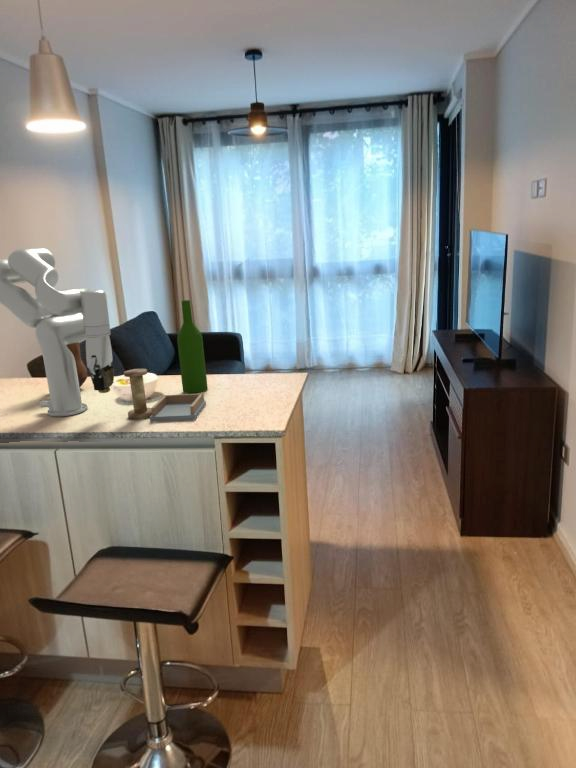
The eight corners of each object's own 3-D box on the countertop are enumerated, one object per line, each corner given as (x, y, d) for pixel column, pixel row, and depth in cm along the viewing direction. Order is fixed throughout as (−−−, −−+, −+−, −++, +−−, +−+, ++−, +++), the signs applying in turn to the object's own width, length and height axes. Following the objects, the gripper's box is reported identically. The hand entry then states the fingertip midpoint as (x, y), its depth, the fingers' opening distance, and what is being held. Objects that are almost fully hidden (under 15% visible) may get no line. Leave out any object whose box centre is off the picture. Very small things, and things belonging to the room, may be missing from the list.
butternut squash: (62, 387, 236) (51, 324, 230) (94, 385, 235) (85, 322, 229) (46, 396, 222) (34, 330, 216) (80, 394, 221) (70, 328, 215)
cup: (116, 394, 184) (113, 369, 182) (91, 396, 183) (88, 371, 180) (116, 387, 191) (114, 363, 189) (93, 389, 190) (89, 365, 187)
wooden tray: (150, 421, 180) (148, 409, 180) (164, 407, 196) (163, 395, 195) (195, 419, 179) (194, 407, 178) (206, 405, 195) (204, 393, 194)
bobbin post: (124, 420, 184) (118, 374, 181) (133, 412, 192) (127, 369, 188) (149, 419, 183) (144, 373, 180) (157, 411, 191) (151, 367, 188)
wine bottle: (202, 386, 221) (192, 298, 213) (211, 390, 213) (202, 299, 205) (179, 390, 216) (169, 301, 209) (188, 395, 209) (178, 302, 201)
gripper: (96, 326, 191) (102, 379, 195) (73, 336, 174) (81, 394, 178) (119, 325, 190) (124, 379, 195) (98, 335, 173) (105, 394, 178)
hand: (104, 386), depth 187 cm, fingers closed on cup, 6 cm apart
